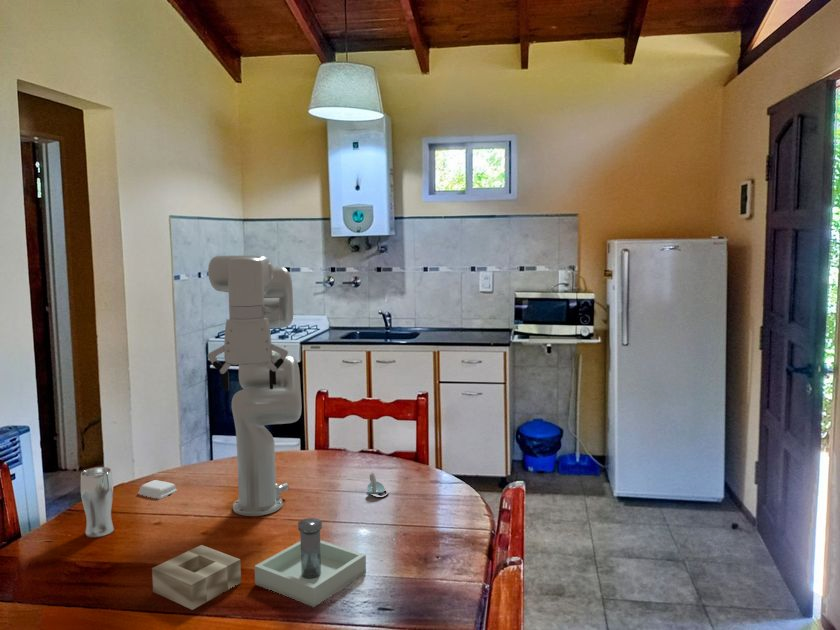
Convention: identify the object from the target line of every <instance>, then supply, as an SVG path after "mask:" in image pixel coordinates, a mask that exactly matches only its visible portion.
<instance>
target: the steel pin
mask: <svg viewBox="0 0 840 630" xmlns="http://www.w3.org/2000/svg"><path fill="white" fill-rule="evenodd" d="M297 527H298V528H297V530H298V531H299V533H300V534H299V536H300V541H301V574H302V577H303V578H306V579H314V578H317V577H319V576H320V575H321V548H320V540H321V530H322V528H323V522H322V520H321V519H320V518H315V517H310V518H309V517H308V518H304V519H303V518H302V519H301V520H299V522H298V523H297Z"/></svg>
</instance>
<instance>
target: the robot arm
mask: <svg viewBox="0 0 840 630" xmlns="http://www.w3.org/2000/svg"><path fill="white" fill-rule="evenodd" d="M207 275H208V279H209V282H210V285H211V286H212V288H213V289H214V290H215V291H217V292H221V293H228V313H229V314H228V315H229V316H228V317H229V318H227V319H226V321H225V329H224V340H223V341H224V345H222V346H219V347H217V348H216V349H214V350H212V351H210V352H209V353H208V354H207V357H208V359H209V361H210V363H211V364H212V366H213V367H214V368H215V369H216V370H217V371H219V373H220V374H221V388H224V390H225V392H229V391H230V371H229V370H228V369H230V367H231V366H237V365H238V381H239V385H240V387H241V389H240V390H238V391H237V392H235V394H234V395H233V396H232V399H231V411H232V416H233V422H234V429H235V436H236V439H235V440H236V452H237V453H236V456H237V458H236V460H237V461H236V462H237V483H238V484H237V486H238V487H237V488H238V499H236V500H235V501H234V502H233V504H232V510H233V512H234V513H236V514H238V515H239V516H242V517H243V516H244V517H259V516H264V515H265V516H266V515H269V514H273V513H275V512H277V511H278V510H280V509H281V508H282V507H283V499H282V498H281V497H280V495H281V494H282V493H283V492H285V491H287V490H289V489H290V485H289V484H288V482H285V483H282V484H280V485H279V484H278V483H277V481H276V473H277V472H276V449H275V448H276V444H275V443H276V442H275V439H274V437H273V435H272V433H271V432H270V431H269V429H267V428H266V427H265V426H268V425H269V426H270V425H283V424H284V425H285V424H293V423H296V422H297V421H299V419H300V418H301V415H302V407H303V406H302V390H301V374H300V367H299V364H298V361H297V359H296V358H295V357H294V356H292V355H288V354H289V351H288V350H287V349H286V348H283V347H281V346H279V345H277V344H275V343H272V335H271V334H272V332H271V329H282V328H283V329H284V328H287V327H289V326H290V325H291V324H292V323H293V320H294V298H293V297H294V294H293V293H294V292H293V282H292V277H291V273H290V272H289V271H288V269H287V268H285V267H283V266H273V264H272V262H270V259H268V257H266V256H264V255H259V254H258V255H248V254H247V255H216V256H213V257H212V258H211V259H210V261H209V263H208V269H207ZM273 352H275V353H277V354H279V355H275V354H274V355H273ZM222 353H223V354H224V355H223V356H224V361H225V363H223V364H222V362H220V361H219V360H218V359H217V356H220V355H221V354H222Z"/></svg>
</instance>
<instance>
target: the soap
mask: <svg viewBox="0 0 840 630" xmlns="http://www.w3.org/2000/svg"><path fill="white" fill-rule="evenodd" d="M175 492H176V493H177V492H178V490H177V488H176V484H174V483H172V482H168V481H162V480H158V479H154V480H151V481H149V482H146V483H144V484H141V486H140V487H139V491H138V495H139V496H142V495H143V496H142V497H146V496H147V498H150V497H151V498H150V499H156V498H157V500H162V499H165V498H168V497H169V495H174V494H176V493H175ZM173 493H174V494H173ZM164 497H165V498H164ZM161 498H162V499H161Z"/></svg>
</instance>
